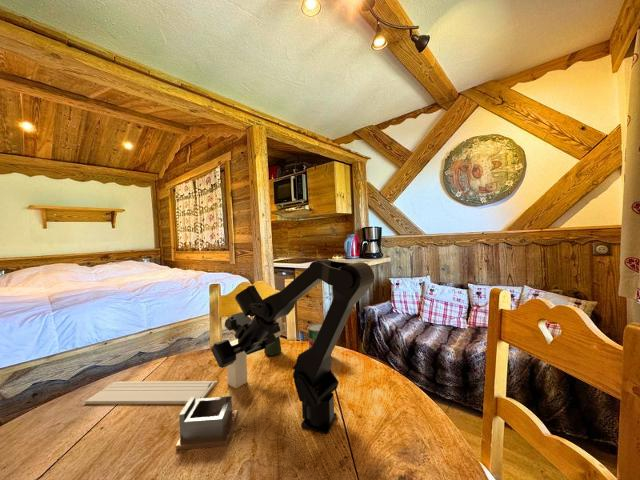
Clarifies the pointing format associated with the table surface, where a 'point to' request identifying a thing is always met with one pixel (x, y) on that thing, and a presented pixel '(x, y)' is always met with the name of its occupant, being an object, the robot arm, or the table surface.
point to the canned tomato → (313, 333)
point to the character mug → (277, 345)
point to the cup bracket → (206, 423)
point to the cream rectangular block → (237, 369)
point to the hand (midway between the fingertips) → (233, 359)
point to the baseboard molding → (152, 392)
